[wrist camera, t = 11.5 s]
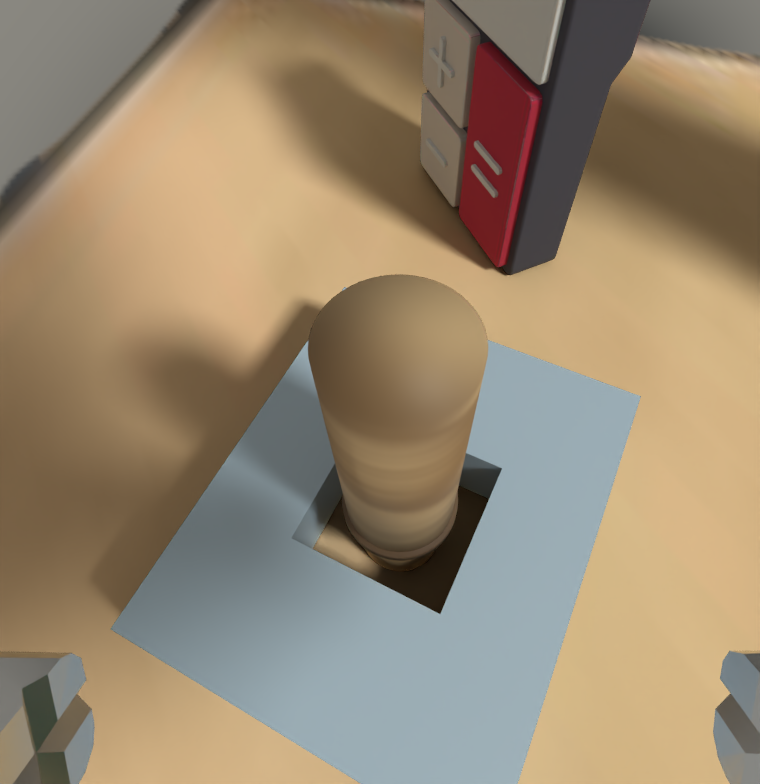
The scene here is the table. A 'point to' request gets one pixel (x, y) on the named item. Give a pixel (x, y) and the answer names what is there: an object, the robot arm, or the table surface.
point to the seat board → (381, 604)
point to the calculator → (518, 111)
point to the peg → (398, 408)
